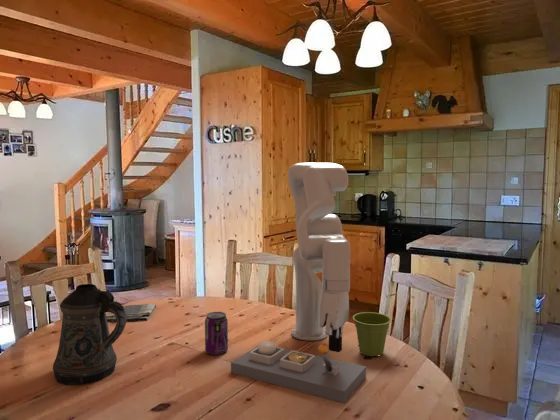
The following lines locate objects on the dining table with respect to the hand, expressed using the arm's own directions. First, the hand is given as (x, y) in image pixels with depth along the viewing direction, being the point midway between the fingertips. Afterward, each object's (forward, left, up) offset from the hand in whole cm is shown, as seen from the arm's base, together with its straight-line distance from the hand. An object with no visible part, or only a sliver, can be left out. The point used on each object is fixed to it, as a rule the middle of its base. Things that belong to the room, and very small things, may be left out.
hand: (335, 350), depth 119 cm
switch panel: (+3, -10, -8) cm, 13 cm away
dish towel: (-12, -94, -9) cm, 95 cm away
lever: (+3, 0, -5) cm, 6 cm away
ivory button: (+3, -20, -3) cm, 20 cm away
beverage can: (+1, -40, -8) cm, 41 cm away
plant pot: (-22, +3, -8) cm, 23 cm away
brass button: (+3, -10, -4) cm, 11 cm away
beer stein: (+30, -62, -8) cm, 69 cm away
